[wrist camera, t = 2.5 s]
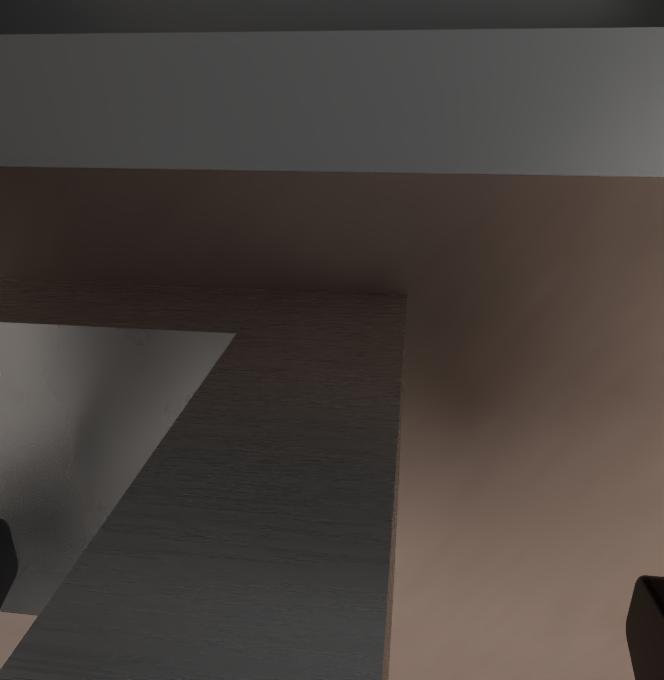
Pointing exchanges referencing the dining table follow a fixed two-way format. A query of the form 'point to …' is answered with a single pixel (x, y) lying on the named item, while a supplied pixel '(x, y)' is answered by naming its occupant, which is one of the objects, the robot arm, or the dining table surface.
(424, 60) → the bin
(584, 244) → the dining table surface
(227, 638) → the bracket
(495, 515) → the dining table surface
